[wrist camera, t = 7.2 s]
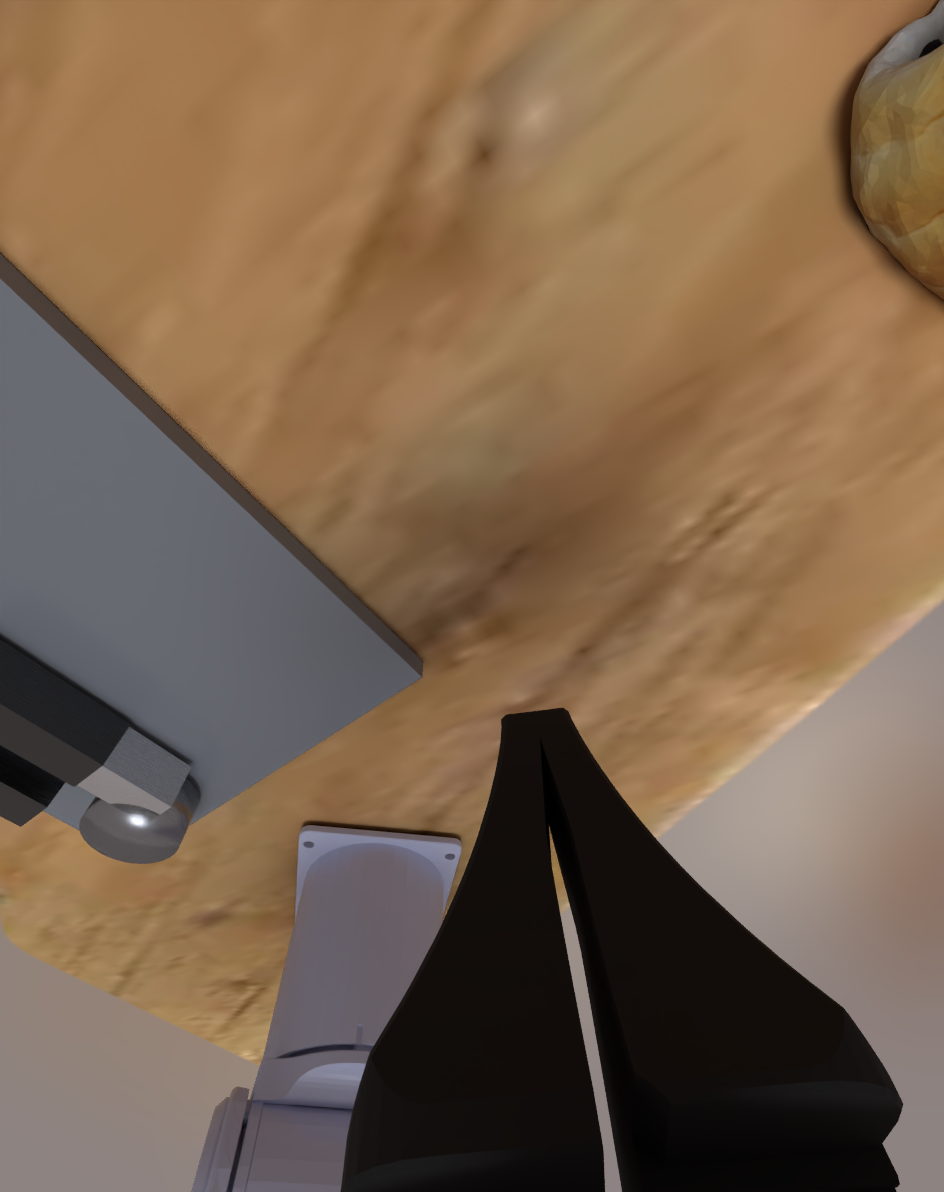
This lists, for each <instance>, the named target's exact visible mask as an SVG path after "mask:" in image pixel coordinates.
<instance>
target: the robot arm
mask: <svg viewBox="0 0 944 1192" xmlns="http://www.w3.org/2000/svg"><path fill="white" fill-rule="evenodd" d="M501 724H502V730H501V742H500V750H499V756H498V762H497V767H496V772H495V776H494V780H493V785H492V789H491V793H490V797H489V801H488V804H487V808H486V811H485V814H484V818H483V821H482V824H481V827H480V830H479V834H478V837H477V840H476V843H475V846H474V848H473V851H472V854H471V857H470V859H469V862H468V865H467V867H466V870H465V872H464V875H463V877H462V880H461V882H460V885H459V887H458V889H457V892H456V894H455V896H454V898H453V901H452V903H451V905H450V907H449V910H448V912H447V914H446V916H445V918H444V921H443V914H444V910H445V907H446V903H447V900H448V896H449V893H450V889H451V886H452V882H453V879H454V875H455V872H456V868H457V865H458V861H459V858H460V854H461V851H462V849H461V842H460V840H458V839H456V838H449V837H438V836H426V835H415V834H404V833H393V832H382V831H371V830H360V829H349V828H337V827H326V826H315V825H307V826H304V827H303V828H301V831H300V834H299V845H298V865H297V886H296V906H295V923H294V927H293V931H292V936H291V940H290V944H289V949H288V953H287V957H286V961H285V966H284V970H283V974H282V979H281V983H280V987H279V991H278V996H277V1000H276V1004H275V1009H274V1013H273V1017H272V1021H271V1026H270V1030H269V1034H268V1039H267V1043H266V1047H265V1051H264V1056H263V1060H262V1061H261V1064H260V1067H259V1071H258V1075H257V1077H256V1081H255V1084H254V1087H253V1090H252V1094H251V1097H250V1100H247V1099H248V1094H249V1089H247V1088H242V1087H235V1088H234V1089H233V1090H232V1092H231V1095H230V1097H227V1098H225V1099H224V1100H223V1101H222V1102H221V1103H220V1104H219V1105H218V1106H217V1107H216V1108H215V1110H214V1113H213V1116H212V1120H211V1123H210V1127H209V1130H208V1134H207V1137H206V1141H205V1144H204V1148H203V1151H202V1155H201V1158H200V1162H199V1165H198V1169H197V1173H196V1176H195V1180H194V1183H193V1187H192V1191H191V1192H605V1179H604V1154H603V1145H602V1138H601V1132H600V1126H599V1121H598V1115H597V1109H596V1103H595V1098H594V1091H593V1086H592V1081H591V1076H590V1071H589V1065H588V1061H587V1055H586V1050H585V1045H584V1040H583V1034H582V1029H581V1024H580V1018H579V1013H578V1008H577V1002H576V997H575V992H574V987H573V982H572V976H571V971H570V965H569V960H568V954H567V949H566V944H565V938H564V933H563V927H562V922H561V916H560V910H559V905H558V899H557V894H556V888H555V883H554V877H553V871H552V863H551V849H550V836H549V827H550V831H551V834H552V838H553V842H554V846H555V850H556V854H557V858H558V861H559V865H560V869H561V873H562V877H563V880H564V884H565V888H566V892H567V896H568V900H569V903H570V907H571V911H572V915H573V919H574V923H575V925H576V931H577V935H578V940H579V944H580V948H581V953H582V959H583V965H584V970H585V976H586V982H587V987H588V993H589V998H590V1004H591V1010H592V1016H593V1022H594V1027H595V1033H596V1039H597V1044H598V1050H599V1056H600V1062H601V1068H602V1074H603V1079H604V1085H605V1092H606V1097H607V1103H608V1109H609V1114H610V1121H611V1127H612V1133H613V1139H614V1145H615V1151H616V1157H617V1163H618V1169H619V1174H620V1181H621V1187H622V1192H896V1189H895V1187H898V1185H899V1184H900V1183H899V1179H898V1175H897V1173H896V1171H895V1169H894V1167H893V1165H892V1163H891V1161H890V1159H889V1157H888V1155H887V1153H886V1150H885V1148H884V1146H883V1144H882V1143H883V1141H884V1140H885V1139H886V1137H887V1136H888V1134H889V1133H890V1132H891V1130H892V1129H893V1127H894V1126H895V1125H896V1123H897V1122H898V1119H899V1116H900V1114H901V1111H902V1107H903V1103H902V1100H901V1098H900V1096H899V1094H898V1092H897V1090H896V1088H895V1086H894V1084H893V1082H892V1080H891V1078H890V1076H889V1074H888V1072H887V1071H886V1069H885V1067H884V1066H883V1064H882V1063H881V1061H880V1060H879V1058H878V1056H877V1055H876V1053H875V1052H874V1050H873V1049H872V1047H871V1046H870V1044H869V1043H868V1041H867V1040H866V1038H865V1037H864V1035H863V1034H862V1032H861V1031H860V1030H859V1028H858V1027H857V1025H856V1024H855V1023H854V1021H853V1020H852V1019H851V1017H850V1016H849V1014H848V1013H847V1012H846V1011H845V1009H844V1008H843V1007H842V1006H840V1005H839V1004H838V1003H837V1002H835V1001H834V1000H833V999H831V998H830V997H829V996H828V995H826V994H825V993H824V992H822V991H821V990H820V989H819V988H817V987H816V986H815V985H813V984H812V983H811V982H809V981H808V980H807V979H806V978H805V977H803V976H802V975H801V974H800V973H798V972H797V971H796V970H795V969H793V968H792V967H791V966H790V965H788V964H787V963H786V962H785V961H784V960H782V959H781V958H780V957H779V956H778V955H776V954H775V953H774V952H773V951H772V950H771V949H769V948H768V947H767V946H766V945H765V944H764V943H762V942H761V941H760V940H759V939H758V938H757V937H755V936H754V935H753V934H752V933H751V932H750V931H748V930H747V929H746V928H745V927H744V926H743V925H742V924H741V923H740V922H739V921H737V920H736V919H735V918H734V917H733V916H732V915H731V914H730V913H729V912H728V911H727V910H726V909H725V908H724V907H722V906H721V905H720V904H719V903H718V902H717V901H716V900H715V899H714V898H713V897H712V896H711V895H709V894H708V893H707V892H706V891H705V890H704V889H703V888H702V887H701V886H700V885H699V884H698V883H697V882H696V881H695V880H694V879H693V878H692V877H691V876H690V875H689V874H688V873H687V872H686V871H685V870H684V869H683V868H682V867H681V866H680V864H678V862H677V861H676V860H675V859H674V858H673V857H672V856H671V855H670V854H669V853H668V852H667V850H665V848H664V847H663V846H662V845H661V844H660V843H659V842H658V841H657V839H656V838H655V837H654V836H653V835H652V834H651V832H650V831H649V830H648V829H647V828H646V827H645V825H644V824H643V823H642V822H641V821H640V819H639V818H638V817H637V816H636V814H635V813H634V812H633V811H632V809H631V808H630V807H629V806H628V804H627V803H626V802H625V800H624V799H623V798H622V797H621V795H620V794H619V793H618V791H617V790H616V789H615V787H614V786H613V784H612V783H611V782H610V780H609V779H608V777H607V776H606V774H605V773H604V772H603V770H602V769H601V767H600V766H599V764H598V763H597V761H596V760H595V758H594V757H593V755H592V754H591V752H590V751H589V749H588V747H587V746H586V744H585V743H584V741H583V739H582V737H581V736H580V734H579V732H578V730H577V728H576V727H575V725H574V723H573V721H572V719H571V716H570V714H569V712H568V711H567V710H566V709H564V708H557V709H549V710H541V711H533V712H525V713H517V714H508V715H505V716H504V717H503V718H502V719H501Z"/></svg>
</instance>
